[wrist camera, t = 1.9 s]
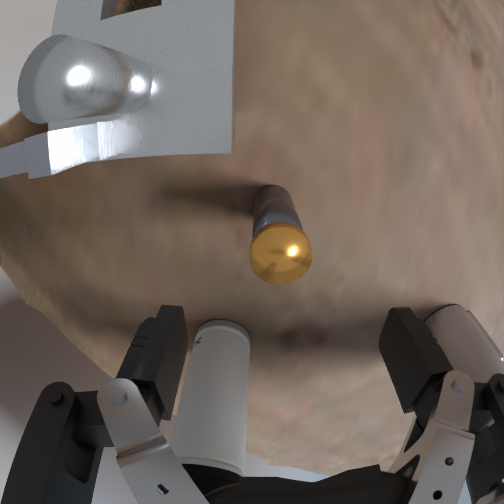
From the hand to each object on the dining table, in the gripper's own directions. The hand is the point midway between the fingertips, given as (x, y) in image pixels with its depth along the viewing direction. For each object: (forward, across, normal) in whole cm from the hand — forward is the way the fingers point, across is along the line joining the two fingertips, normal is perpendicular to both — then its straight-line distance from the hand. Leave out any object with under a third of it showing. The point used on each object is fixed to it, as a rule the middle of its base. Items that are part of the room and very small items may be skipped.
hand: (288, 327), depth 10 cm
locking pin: (+16, 0, 0) cm, 16 cm away
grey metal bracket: (+16, +14, -13) cm, 25 cm away
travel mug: (+16, +5, +16) cm, 23 cm away
